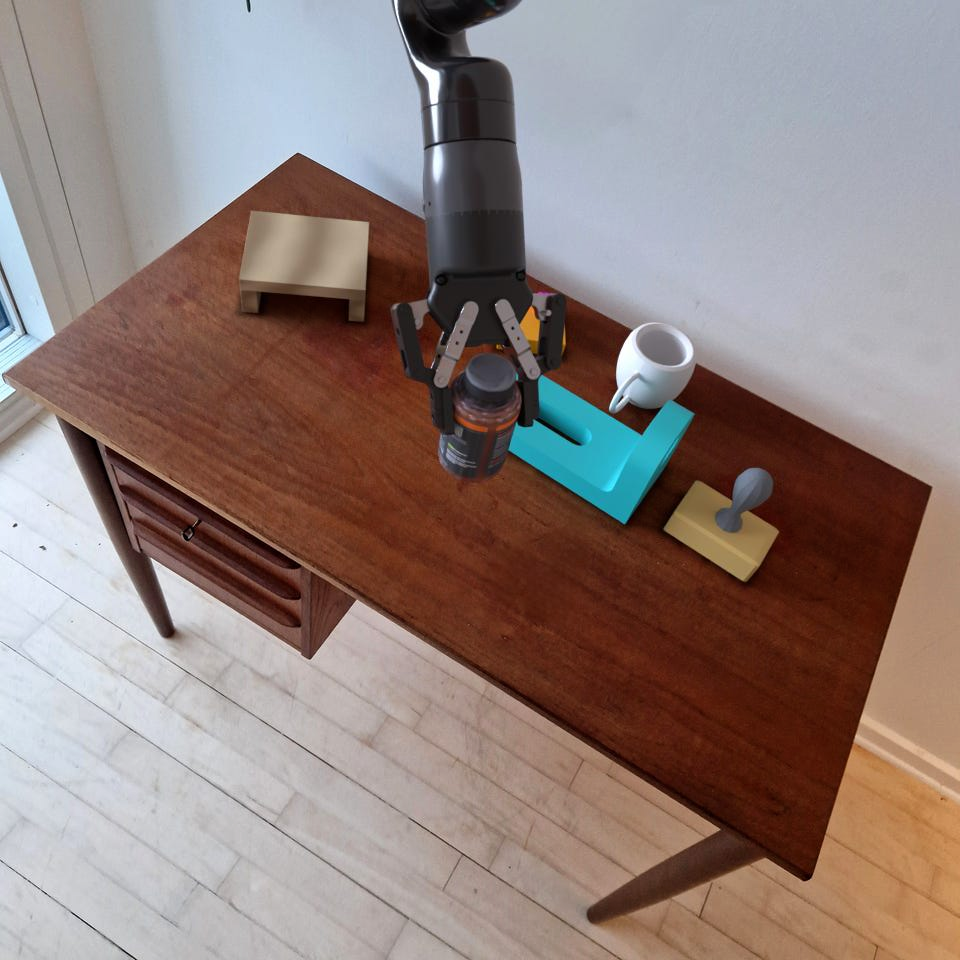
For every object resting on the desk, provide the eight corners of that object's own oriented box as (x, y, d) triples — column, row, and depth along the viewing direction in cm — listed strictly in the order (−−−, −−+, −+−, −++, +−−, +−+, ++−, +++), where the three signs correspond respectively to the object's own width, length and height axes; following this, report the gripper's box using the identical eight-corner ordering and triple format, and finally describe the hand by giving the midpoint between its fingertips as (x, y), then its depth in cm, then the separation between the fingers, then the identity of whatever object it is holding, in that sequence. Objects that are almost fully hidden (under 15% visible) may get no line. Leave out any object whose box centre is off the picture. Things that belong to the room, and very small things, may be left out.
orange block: (561, 357, 101) (570, 332, 98) (496, 349, 100) (502, 323, 97) (559, 310, 106) (567, 285, 102) (496, 302, 105) (502, 276, 102)
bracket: (663, 469, 94) (702, 401, 84) (624, 524, 89) (661, 458, 79) (515, 378, 98) (536, 304, 89) (470, 425, 93) (487, 352, 84)
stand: (242, 312, 98) (238, 279, 94) (253, 243, 104) (251, 210, 100) (363, 321, 100) (365, 290, 96) (367, 254, 106) (369, 222, 102)
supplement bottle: (510, 441, 75) (537, 355, 66) (495, 494, 72) (522, 410, 62) (446, 423, 75) (464, 334, 66) (428, 474, 72) (445, 388, 62)
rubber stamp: (766, 547, 90) (819, 484, 80) (744, 584, 87) (797, 523, 77) (685, 496, 92) (728, 429, 82) (661, 531, 89) (703, 465, 79)
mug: (635, 354, 104) (656, 307, 97) (690, 394, 101) (715, 349, 95) (575, 401, 98) (593, 355, 91) (632, 446, 95) (654, 401, 89)
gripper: (389, 208, 59) (408, 446, 62) (580, 202, 62) (588, 426, 66) (372, 220, 66) (390, 433, 69) (544, 214, 69) (553, 416, 73)
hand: (487, 429), depth 67 cm, fingers closed on supplement bottle, 6 cm apart
